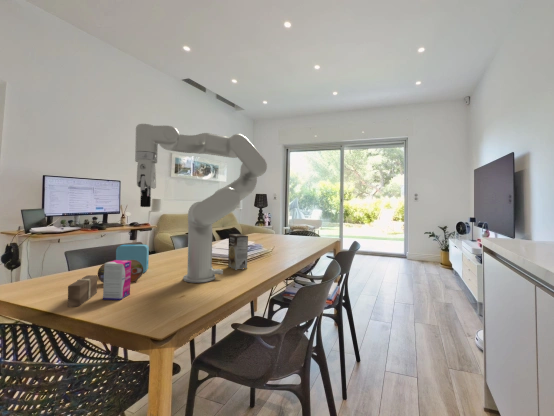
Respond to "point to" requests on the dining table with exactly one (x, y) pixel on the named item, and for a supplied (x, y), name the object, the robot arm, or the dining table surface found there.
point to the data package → (134, 254)
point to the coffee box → (238, 251)
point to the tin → (135, 271)
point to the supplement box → (116, 280)
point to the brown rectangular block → (82, 290)
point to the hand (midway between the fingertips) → (145, 206)
